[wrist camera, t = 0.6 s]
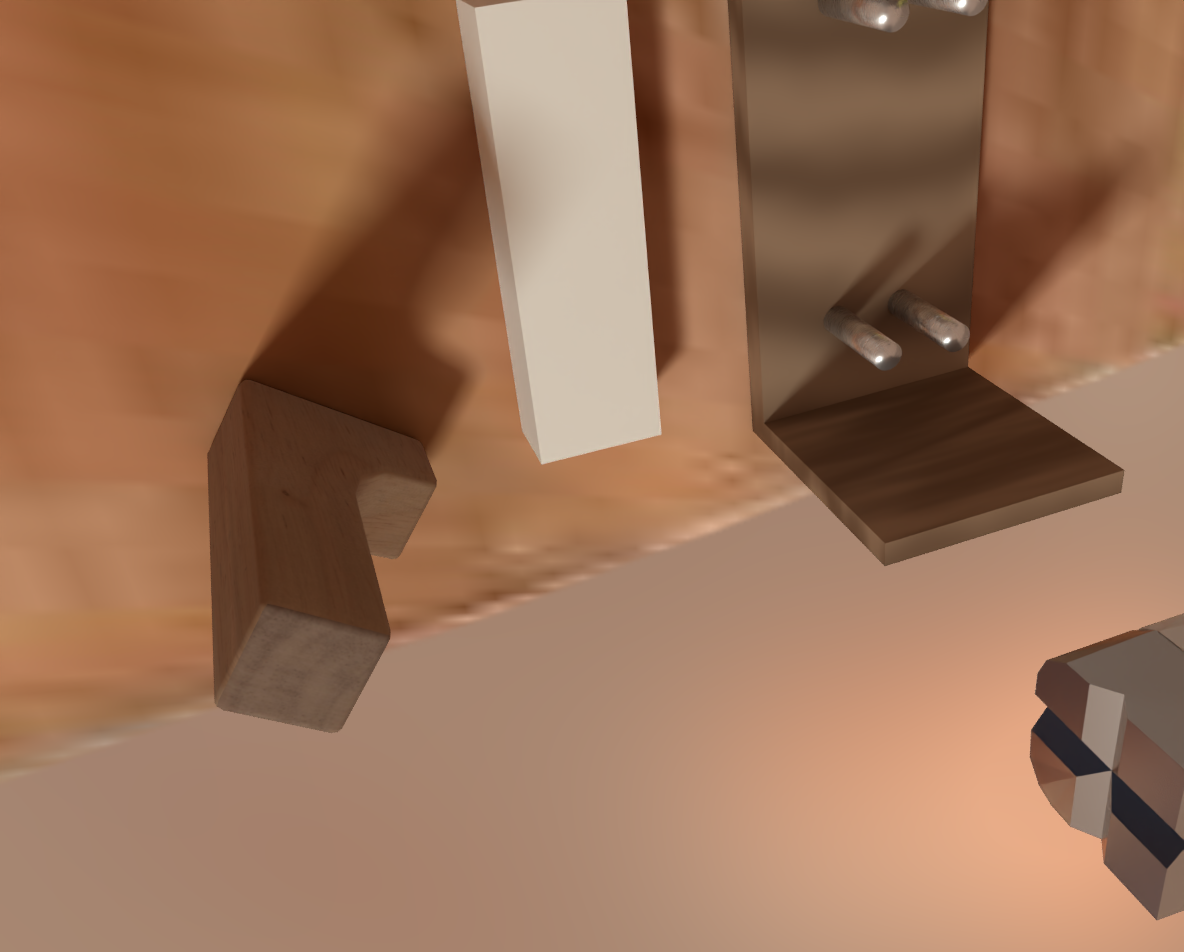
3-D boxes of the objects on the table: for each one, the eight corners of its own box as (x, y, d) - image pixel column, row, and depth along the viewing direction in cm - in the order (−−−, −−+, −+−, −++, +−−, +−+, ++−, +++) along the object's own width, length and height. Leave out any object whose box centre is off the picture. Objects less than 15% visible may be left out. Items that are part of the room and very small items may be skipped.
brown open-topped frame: (719, -145, 45) (895, -144, 34) (978, -187, 47) (1223, -200, 36) (752, 430, 59) (884, 566, 48) (950, 375, 61) (1120, 492, 50)
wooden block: (423, 439, 53) (514, 666, 38) (384, 515, 55) (457, 764, 40) (241, 373, 49) (264, 601, 34) (204, 458, 50) (209, 712, 35)
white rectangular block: (453, -4, 45) (474, 7, 41) (593, -26, 46) (625, -16, 43) (520, 427, 55) (541, 464, 52) (633, 400, 56) (661, 434, 53)
